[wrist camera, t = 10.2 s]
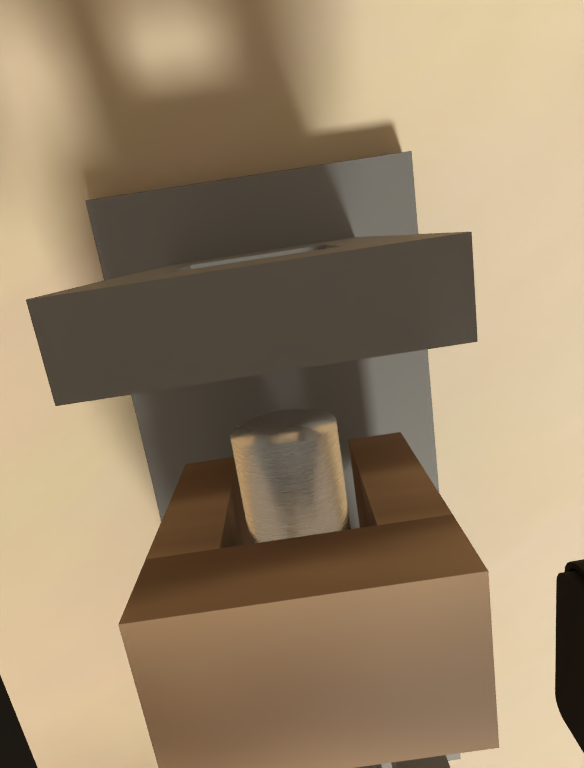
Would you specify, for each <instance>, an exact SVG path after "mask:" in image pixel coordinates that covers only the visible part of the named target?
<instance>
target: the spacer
mask: <svg viewBox="0 0 584 768" xmlns="http://www.w3.org/2000/svg"><path fill="white" fill-rule="evenodd" d="M348 442H349V450H350V458H351V465H352V473H353V480H354V488H355V496H356V503H357V511H358V518H359V526H360V528H356V529H349V530H342V531H335V532H328V533H322V534H315V535H308V536H301V537H295V538H288V539H281V540H274V541H267V542H260V543H253V544H250V539H249V534H248V528H247V523H246V518H245V512H244V507H243V502H242V497H241V491H240V486H239V481H238V475H237V470H236V465H235V460H234V457H230V458H223V459H216V460H210V461H203V462H196V463H190V464H185V467H184V469H183V471H182V474H181V476H180V479H179V481H178V483H177V486H176V488H175V491H174V493H173V495H172V498H171V500H170V502H169V505H168V507H167V510H166V512H165V514H164V517H163V519H162V522H161V524H160V526H159V529H158V531H157V534H156V536H155V538H154V541H153V543H152V546H151V548H150V550H149V553H148V555H147V557H146V560H145V562H144V565H143V567H142V569H141V572H140V574H139V577H138V579H137V581H136V584H135V586H134V589H133V591H132V593H131V596H130V598H129V601H128V603H127V605H126V608H125V610H124V613H123V615H122V617H121V620H120V622H119V624H118V625H119V628H120V632H121V635H122V639H123V643H124V646H125V650H126V653H127V657H128V660H129V664H130V667H131V671H132V675H133V678H134V682H135V685H136V689H137V692H138V696H139V699H140V703H141V707H142V710H143V714H144V717H145V721H146V724H147V728H148V731H149V735H150V739H151V742H152V746H153V749H154V753H155V756H156V760H157V763H158V767H159V768H356V767H363V766H370V765H377V764H384V763H392V762H399V761H406V760H413V759H420V758H428V757H435V756H442V755H449V754H457V753H464V752H471V751H478V750H485V749H493V748H499V739H498V723H497V707H496V690H495V674H494V658H493V641H492V625H491V609H490V592H489V576H488V570H487V568H486V567H485V565H484V564H483V562H482V560H481V559H480V557H479V556H478V554H477V552H476V551H475V549H474V548H473V546H472V545H471V543H470V541H469V540H468V538H467V537H466V535H465V533H464V532H463V530H462V529H461V527H460V526H459V524H458V522H457V521H456V519H455V518H454V516H453V514H452V513H451V511H450V510H449V508H448V506H447V505H446V503H445V502H444V500H443V499H442V497H441V495H440V494H439V492H438V491H437V489H436V487H435V486H434V484H433V483H432V481H431V479H430V478H429V476H428V475H427V473H426V472H425V470H424V468H423V467H422V465H421V464H420V462H419V460H418V459H417V457H416V456H415V454H414V452H413V451H412V449H411V448H410V446H409V445H408V443H407V441H406V440H405V438H404V437H403V435H402V433H401V432H397V433H390V434H383V435H377V436H370V437H363V438H357V439H350V440H348Z"/></svg>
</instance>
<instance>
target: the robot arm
mask: <svg viewBox="0 0 584 768" xmlns="http://www.w3.org/2000/svg"><path fill="white" fill-rule="evenodd" d="M555 696H556V702H557V705H558V708H559V711H560V713H561V716H562V718H563V720H564V721H565V723H566V725H567V726H568V728H569V730H570V731H571V733H572V734H573V736H574V738H575V739H576V741H577V743H578V744H579V746H580V747H581V749H582V751H583V752H584V560H578V561H572V562H569V563H567V564H566V566H565V572H563V573H559V574H558V576H557V588H556V672H555ZM0 768H37V765H36V763H35V760H34V758H33V755H32V753H31V750H30V748H29V745H28V743H27V741H26V738H25V736H24V733H23V731H22V728H21V726H20V723H19V721H18V718H17V716H16V713H15V711H14V708H13V706H12V703H11V701H10V698H9V696H8V693H7V691H6V688H5V686H4V683H3V681H2V678H1V676H0Z"/></svg>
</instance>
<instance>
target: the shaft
mask: <svg viewBox="0 0 584 768" xmlns="http://www.w3.org/2000/svg"><path fill="white" fill-rule="evenodd" d="M230 439H231V444H232V449H233V454H234V460H235V465H236V470H237V475H238V481H239V486H240V491H241V497H242V502H243V507H244V512H245V518H246V523H247V528H248V534H249V539H250V544H253V543H260V542H267V541H274V540H281V539H288V538H295V537H301V536H308V535H315V534H322V533H328V532H335V531H342V530H349V529H351V527H350V519H349V512H348V504H347V497H346V489H345V481H344V474H343V466H342V459H341V451H340V443H339V436H338V428H337V421H336V418H335V417H334V416H333V415H332V414H330V413H328V412H325V411H321V410H314V409H292V410H283V411H277V412H272V413H268V414H264V415H261V416H258V417H255V418H252V419H250V420H247V421H245V422H243V423H242V424H240V425H239V426H237V427H236V428H235V429H234V430H233V431H232V432H231V435H230ZM356 768H382V764H377V765H370V766H363V767H356Z"/></svg>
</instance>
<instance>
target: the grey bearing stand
mask: <svg viewBox="0 0 584 768" xmlns="http://www.w3.org/2000/svg"><path fill="white" fill-rule="evenodd" d="M86 205H87V209H88V213H89V217H90V222H91V226H92V230H93V234H94V239H95V243H96V247H97V251H98V255H99V260H100V264H101V268H102V272H103V277H104V281H101V282H97V283H93V284H89V285H85V286H81V287H76V288H72V289H68V290H64V291H60V292H56V293H52V294H47V295H43V296H39V297H35V298H31V299H27V300H26V302H27V305H28V309H29V313H30V316H31V320H32V323H33V327H34V331H35V334H36V338H37V341H38V345H39V349H40V352H41V356H42V359H43V363H44V367H45V370H46V374H47V377H48V381H49V385H50V388H51V392H52V395H53V399H54V403H55V406H59V405H65V404H72V403H78V402H85V401H92V400H98V399H105V398H111V397H118V396H124V395H132V399H133V403H134V407H135V412H136V416H137V420H138V424H139V429H140V433H141V437H142V441H143V446H144V450H145V454H146V458H147V462H148V467H149V471H150V475H151V479H152V484H153V488H154V492H155V496H156V500H157V505H158V509H159V513H160V517H161V522H162V519H163V517H164V514H165V512H166V510H167V507H168V505H169V502H170V500H171V498H172V495H173V493H174V491H175V488H176V486H177V483H178V481H179V479H180V476H181V474H182V471H183V469H184V467H185V464H190V463H196V462H203V461H210V460H216V459H223V458H230V457H234V454H233V449H232V444H231V439H230V435H231V432H232V431H233V430H234V429H235V428H236V427H237V426H239V425H240V424H242V423H243V422H245V421H247V420H250V419H252V418H255V417H258V416H261V415H264V414H268V413H272V412H277V411H283V410H292V409H314V410H321V411H325V412H328V413H330V414H332V415H333V416H334V417H335V418H336V421H337V428H338V436H339V443H340V451H341V459H342V466H343V474H344V481H345V489H346V497H347V504H348V512H349V519H350V527H351V529H356V528H360V526H359V518H358V511H357V503H356V496H355V488H354V480H353V473H352V465H351V458H350V450H349V442H348V440H350V439H357V438H363V437H370V436H377V435H383V434H390V433H397V432H401V433H402V435H403V437H404V438H405V440H406V441H407V443H408V445H409V446H410V448H411V449H412V451H413V452H414V454H415V456H416V457H417V459H418V460H419V462H420V464H421V465H422V467H423V468H424V470H425V472H426V473H427V475H428V476H429V478H430V479H431V481H432V483H433V484H434V486H435V487H436V489H437V491H438V492H439V486H438V474H437V461H436V449H435V437H434V424H433V412H432V399H431V387H430V375H429V362H428V350H427V349H432V348H438V347H445V346H451V345H458V344H465V343H471V342H477V324H476V305H475V287H474V269H473V251H472V233H471V232H456V233H434V234H418V226H417V214H416V201H415V189H414V177H413V164H412V152H411V151H409V152H402V153H395V154H389V155H382V156H376V157H369V158H363V159H356V160H349V161H343V162H336V163H330V164H323V165H316V166H310V167H303V168H297V169H290V170H284V171H277V172H270V173H264V174H257V175H251V176H244V177H238V178H231V179H224V180H218V181H211V182H205V183H198V184H192V185H185V186H178V187H172V188H165V189H159V190H152V191H146V192H139V193H132V194H126V195H119V196H113V197H106V198H100V199H93V200H86ZM457 759H461V758H460V753H457V754H449V755H442V756H435V757H428V758H420V759H413V760H406V761H399V762H392V763H384V764H382V768H450V766H449V763H448V761H450V760H457Z"/></svg>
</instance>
